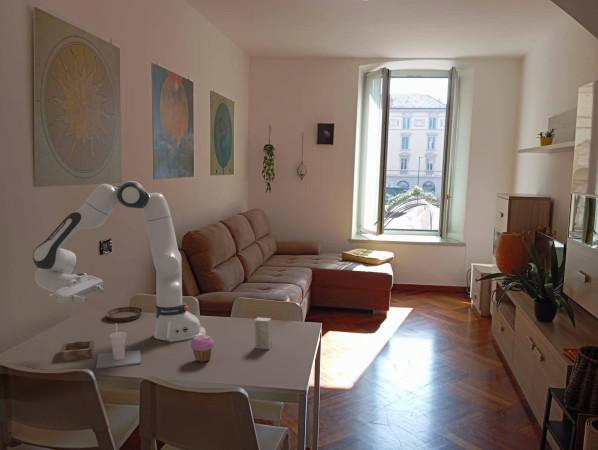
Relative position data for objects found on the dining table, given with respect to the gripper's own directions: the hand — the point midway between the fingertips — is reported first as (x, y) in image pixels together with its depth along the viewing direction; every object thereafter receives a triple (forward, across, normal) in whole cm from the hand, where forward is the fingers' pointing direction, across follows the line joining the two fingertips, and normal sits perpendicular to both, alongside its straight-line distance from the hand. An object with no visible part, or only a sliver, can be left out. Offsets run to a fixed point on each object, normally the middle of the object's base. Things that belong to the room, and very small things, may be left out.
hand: (94, 295), depth 208 cm
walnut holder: (-2, -7, +24) cm, 25 cm away
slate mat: (+17, -4, +21) cm, 27 cm away
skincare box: (+62, +31, +17) cm, 71 cm away
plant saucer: (-20, +40, +34) cm, 56 cm away
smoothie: (+17, -4, +20) cm, 27 cm away
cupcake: (+46, +9, +17) cm, 50 cm away
